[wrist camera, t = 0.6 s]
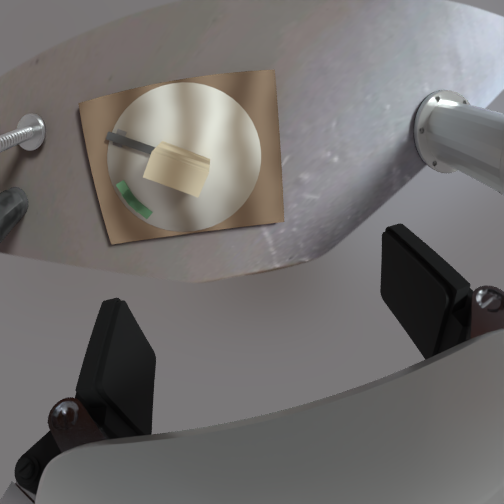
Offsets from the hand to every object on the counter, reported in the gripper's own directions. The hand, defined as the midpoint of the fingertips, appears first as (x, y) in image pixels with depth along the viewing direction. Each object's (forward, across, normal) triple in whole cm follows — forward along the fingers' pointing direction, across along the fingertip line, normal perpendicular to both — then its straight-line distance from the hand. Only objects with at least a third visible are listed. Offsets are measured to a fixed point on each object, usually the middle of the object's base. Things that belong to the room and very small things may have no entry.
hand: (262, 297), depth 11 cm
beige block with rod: (+28, +7, -2) cm, 29 cm away
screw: (+31, +22, -10) cm, 39 cm away
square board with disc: (+30, +4, 0) cm, 30 cm away
